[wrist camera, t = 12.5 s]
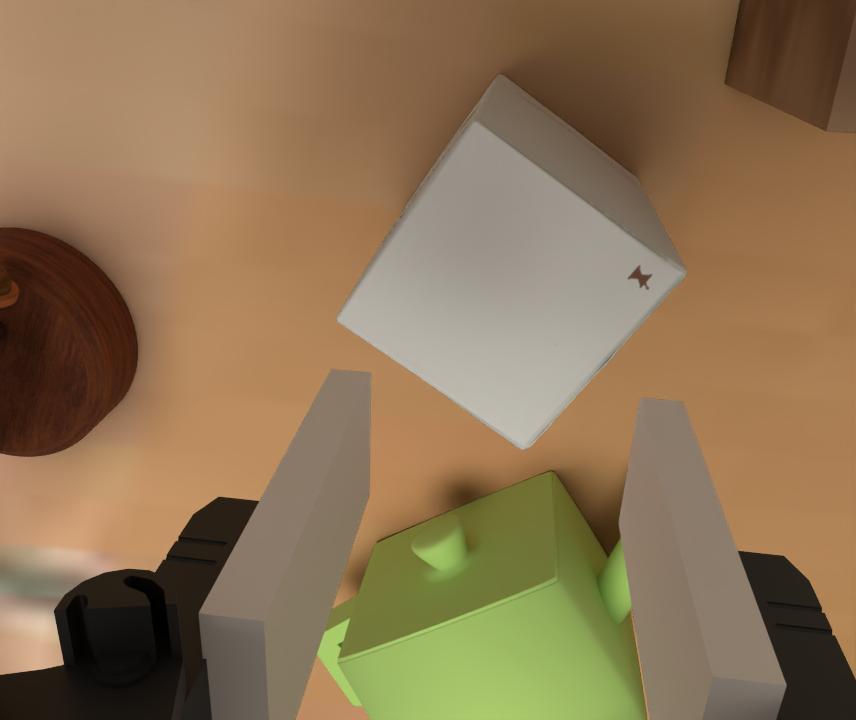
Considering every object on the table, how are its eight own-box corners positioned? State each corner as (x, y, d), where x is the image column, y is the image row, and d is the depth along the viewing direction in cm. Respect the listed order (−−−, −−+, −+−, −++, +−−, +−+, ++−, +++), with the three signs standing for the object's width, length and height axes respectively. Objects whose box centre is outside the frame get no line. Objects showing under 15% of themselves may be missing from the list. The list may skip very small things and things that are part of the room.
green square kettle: (628, 399, 38) (655, 506, 29) (711, 561, 40) (759, 704, 32) (311, 535, 43) (252, 662, 34) (403, 672, 45) (371, 822, 37)
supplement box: (499, 66, 32) (478, 107, 20) (643, 179, 33) (700, 277, 22) (394, 213, 35) (326, 320, 23) (530, 312, 36) (528, 460, 24)
